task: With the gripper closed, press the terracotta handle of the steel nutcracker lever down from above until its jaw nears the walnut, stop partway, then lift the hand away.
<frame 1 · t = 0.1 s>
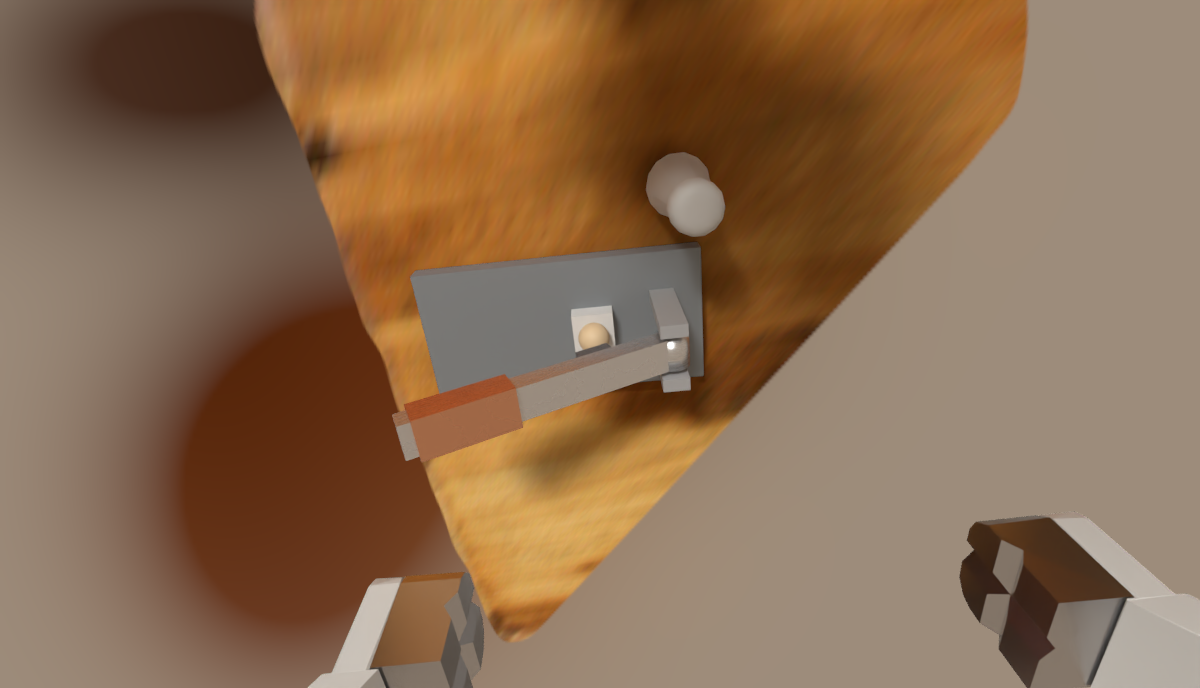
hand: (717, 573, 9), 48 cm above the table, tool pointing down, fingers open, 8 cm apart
salt shaker: (673, 181, 54), on the table
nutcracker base: (564, 321, 59), on the table
lever: (555, 385, 47), point 14 cm above the table, hinge at 25.0°
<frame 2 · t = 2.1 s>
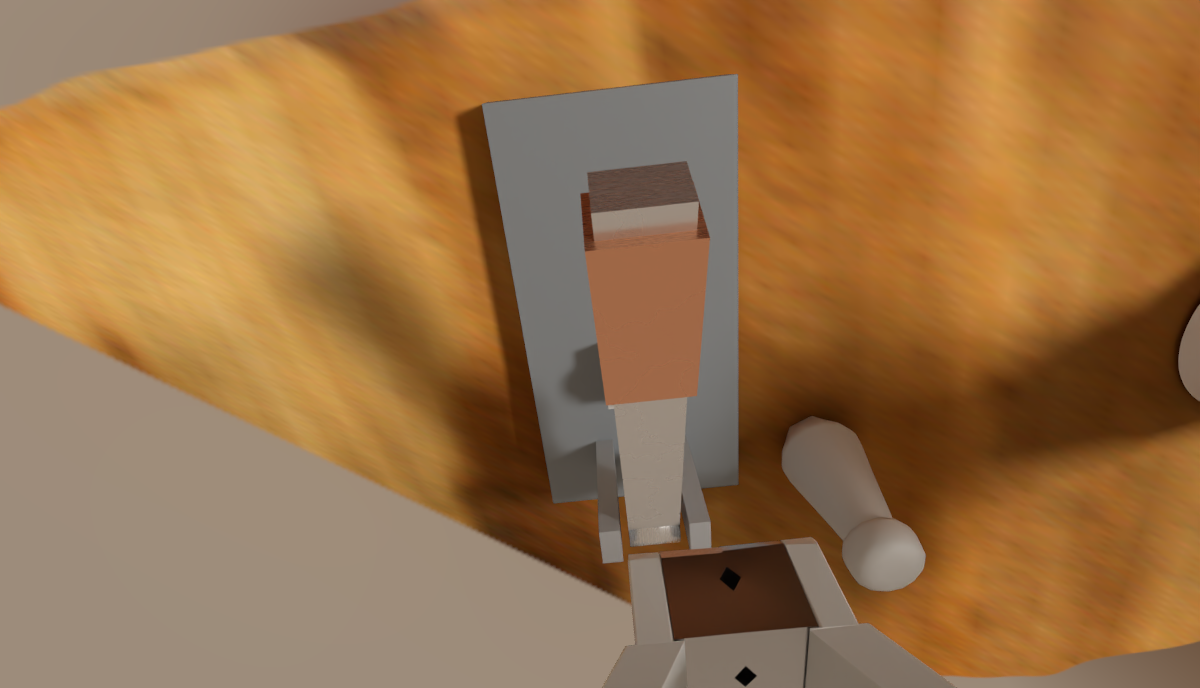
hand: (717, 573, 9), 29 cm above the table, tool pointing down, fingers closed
salt shaker: (809, 437, 44), on the table
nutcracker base: (628, 312, 39), on the table
lever: (648, 416, 26), point 14 cm above the table, hinge at 25.0°
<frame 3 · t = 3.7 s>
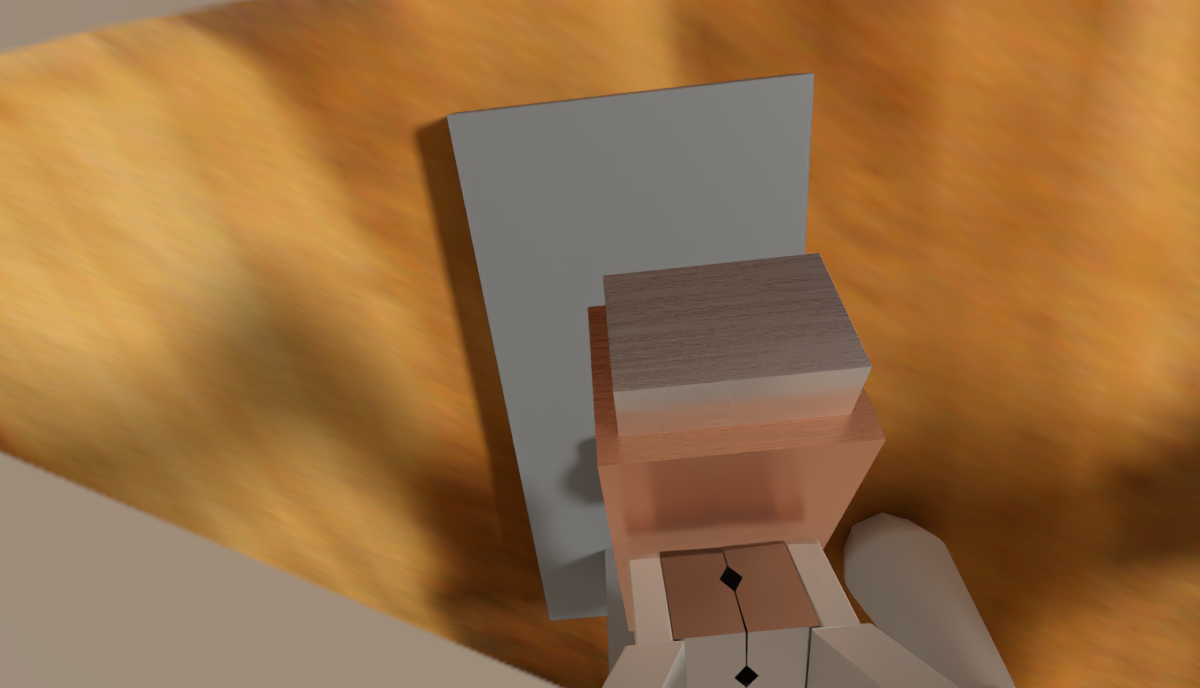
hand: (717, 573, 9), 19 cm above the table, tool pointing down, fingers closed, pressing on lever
salt shaker: (876, 537, 34), on the table
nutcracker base: (648, 387, 29), on the table
lever: (689, 599, 17), point 13 cm above the table, hinge at 24.2°, touching gripper
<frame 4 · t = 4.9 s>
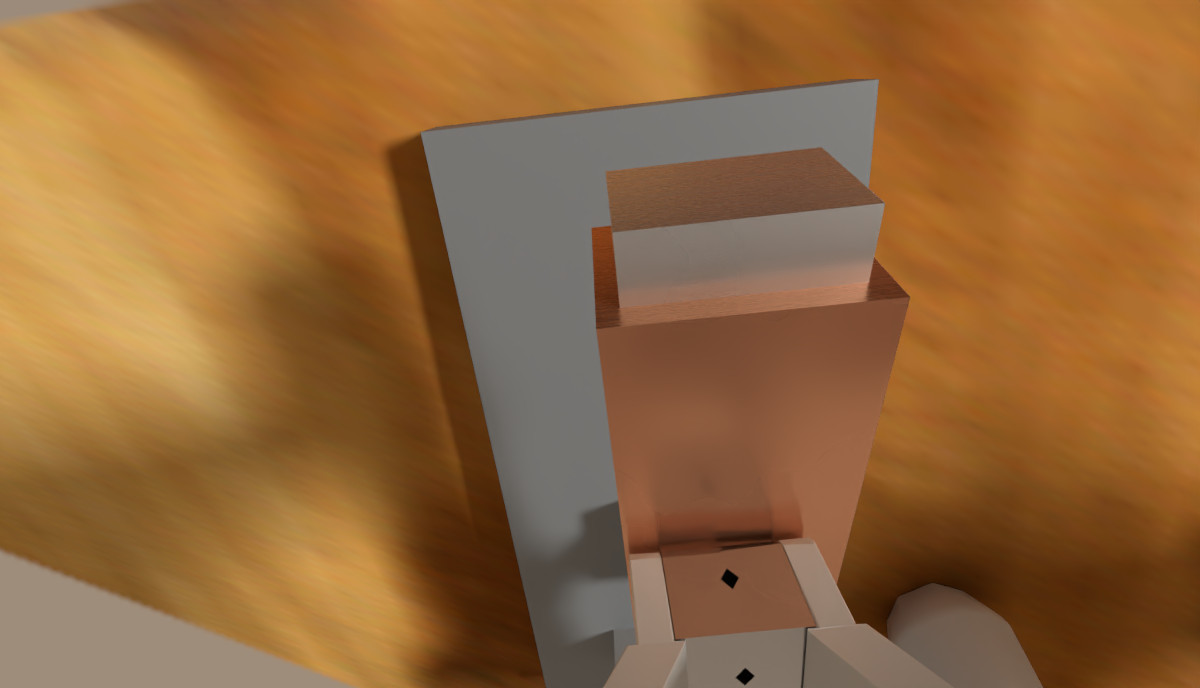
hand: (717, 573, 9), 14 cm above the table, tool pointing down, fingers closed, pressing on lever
salt shaker: (924, 608, 30), on the table
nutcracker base: (665, 446, 25), on the table
lever: (711, 657, 15), point 11 cm above the table, hinge at 10.9°, touching gripper
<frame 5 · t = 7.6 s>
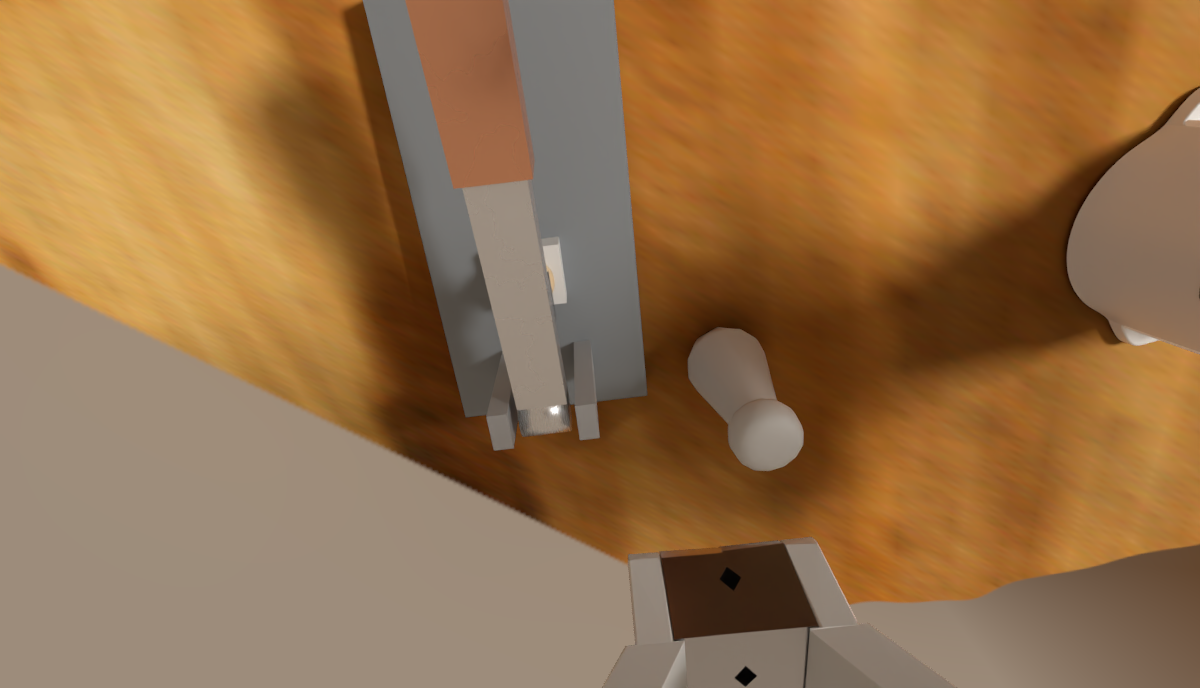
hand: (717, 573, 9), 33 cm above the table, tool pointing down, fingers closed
salt shaker: (718, 350, 45), on the table
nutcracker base: (528, 218, 39), on the table
lever: (511, 243, 29), point 11 cm above the table, hinge at 10.7°
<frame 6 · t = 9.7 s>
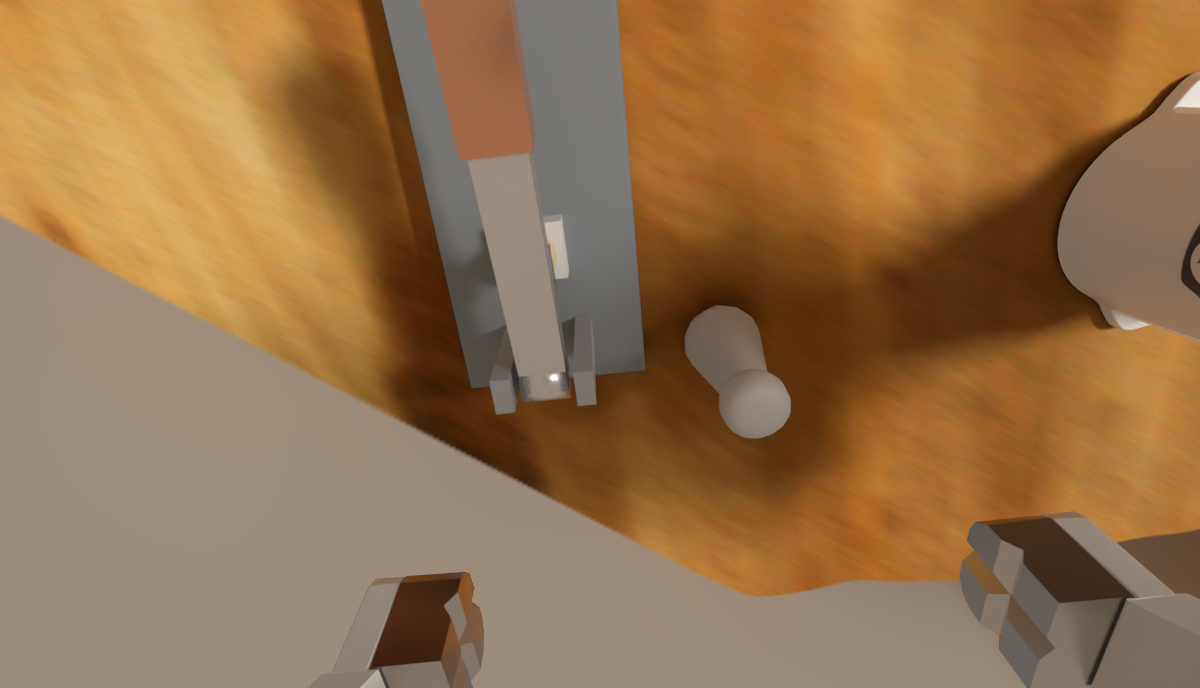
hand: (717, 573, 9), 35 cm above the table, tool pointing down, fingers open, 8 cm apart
salt shaker: (715, 328, 46), on the table
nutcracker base: (533, 197, 41), on the table
lever: (513, 215, 31), point 11 cm above the table, hinge at 10.7°
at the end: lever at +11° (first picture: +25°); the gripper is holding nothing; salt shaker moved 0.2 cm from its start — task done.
